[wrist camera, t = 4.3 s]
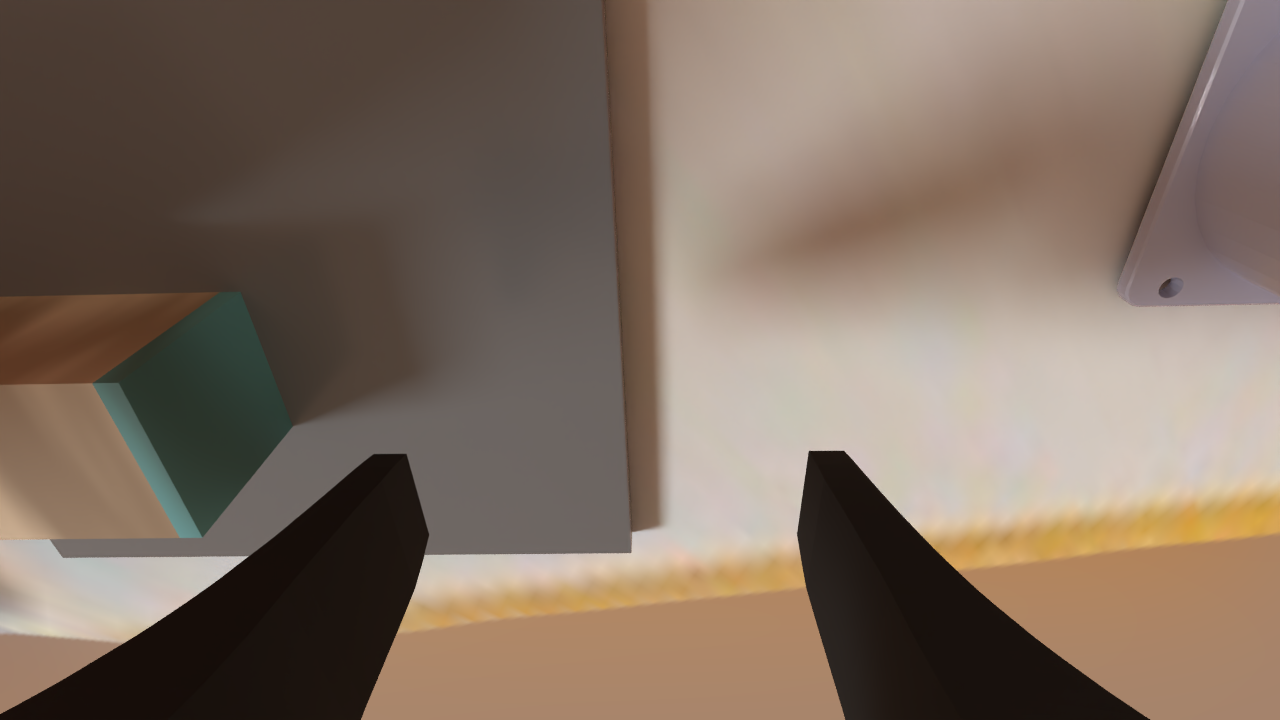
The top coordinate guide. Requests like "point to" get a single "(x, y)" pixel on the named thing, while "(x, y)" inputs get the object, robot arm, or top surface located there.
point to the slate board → (349, 237)
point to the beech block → (130, 413)
